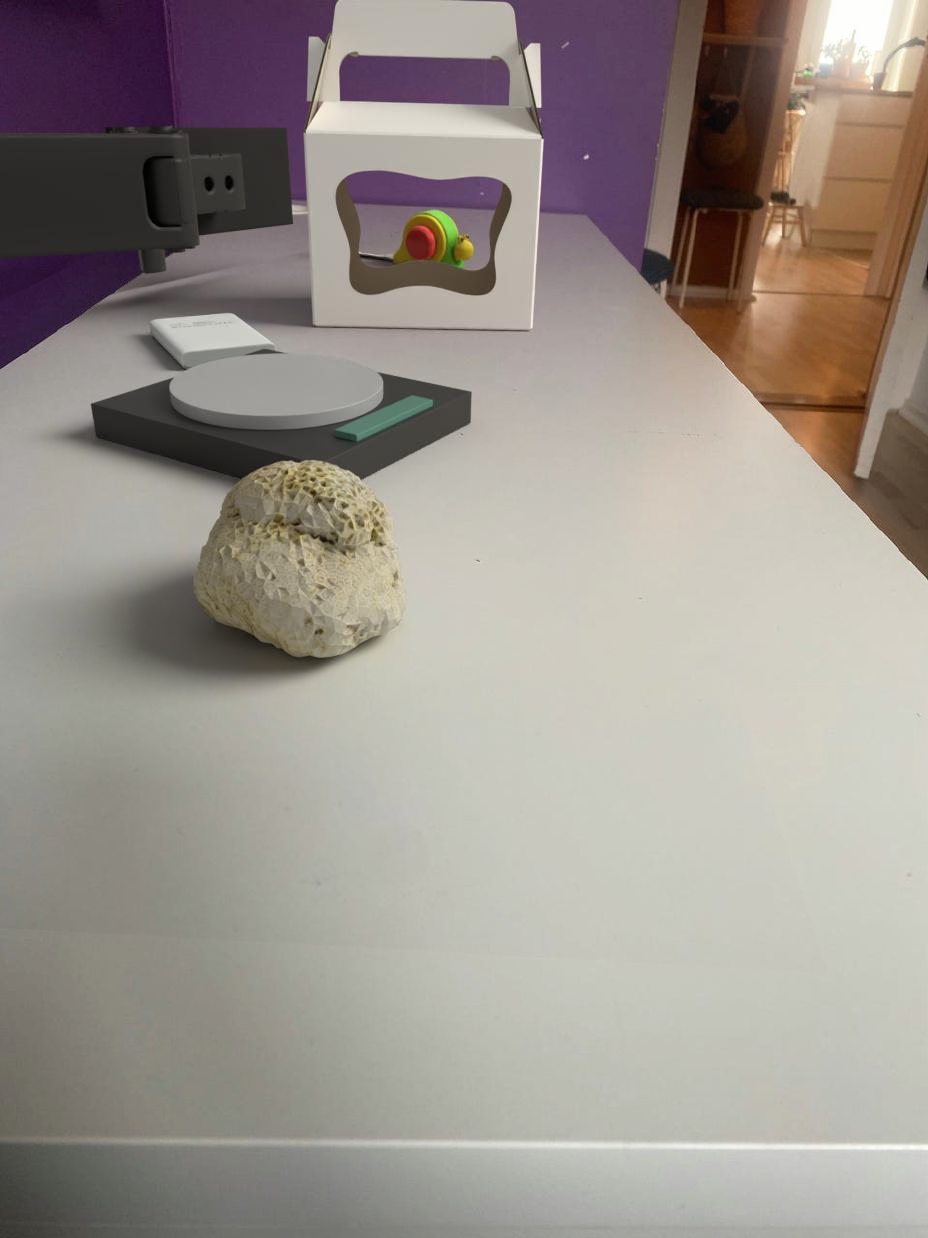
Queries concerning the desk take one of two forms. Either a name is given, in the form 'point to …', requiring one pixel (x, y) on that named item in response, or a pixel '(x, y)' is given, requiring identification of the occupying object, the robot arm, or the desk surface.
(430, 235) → the toy measuring tape
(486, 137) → the gable box
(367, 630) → the decorative item
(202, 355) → the hard drive
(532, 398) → the desk surface
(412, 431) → the scale
